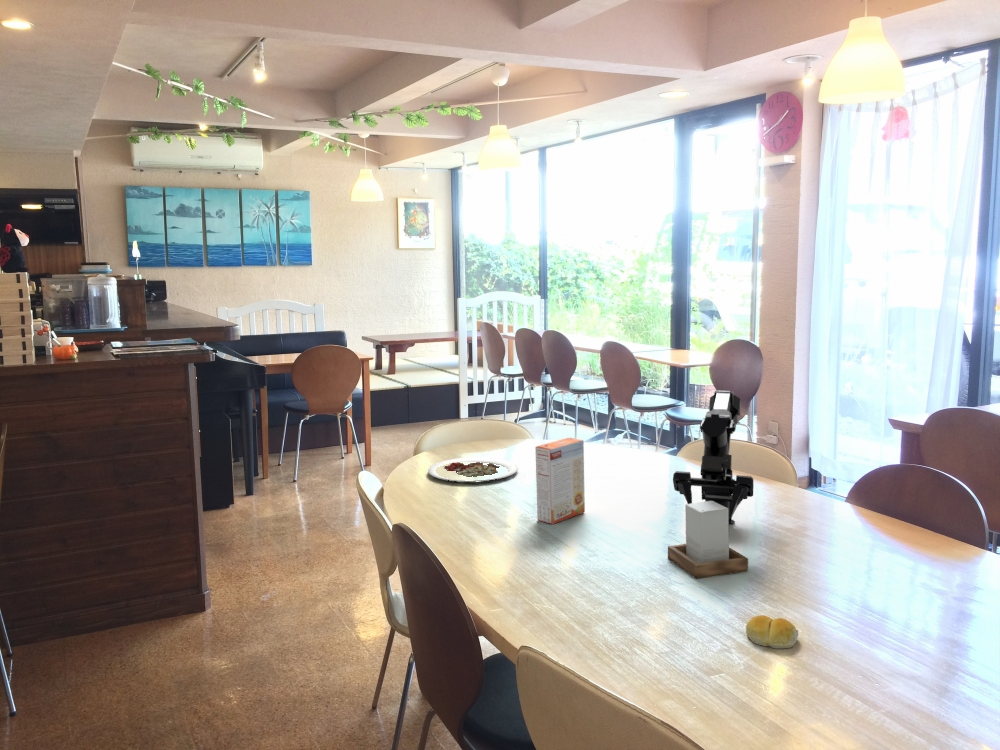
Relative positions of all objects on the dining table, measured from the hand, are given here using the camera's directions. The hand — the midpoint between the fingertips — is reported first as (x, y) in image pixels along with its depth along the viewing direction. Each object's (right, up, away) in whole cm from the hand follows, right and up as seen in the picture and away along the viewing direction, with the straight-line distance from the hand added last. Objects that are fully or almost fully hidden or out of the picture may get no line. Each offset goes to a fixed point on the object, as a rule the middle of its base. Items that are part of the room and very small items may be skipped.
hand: (710, 515), depth 190 cm
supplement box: (-2, -9, -5) cm, 11 cm away
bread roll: (0, -16, -42) cm, 45 cm away
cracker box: (-33, -6, +30) cm, 45 cm away
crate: (-2, -10, -6) cm, 12 cm away
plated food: (-59, 0, +78) cm, 97 cm away
